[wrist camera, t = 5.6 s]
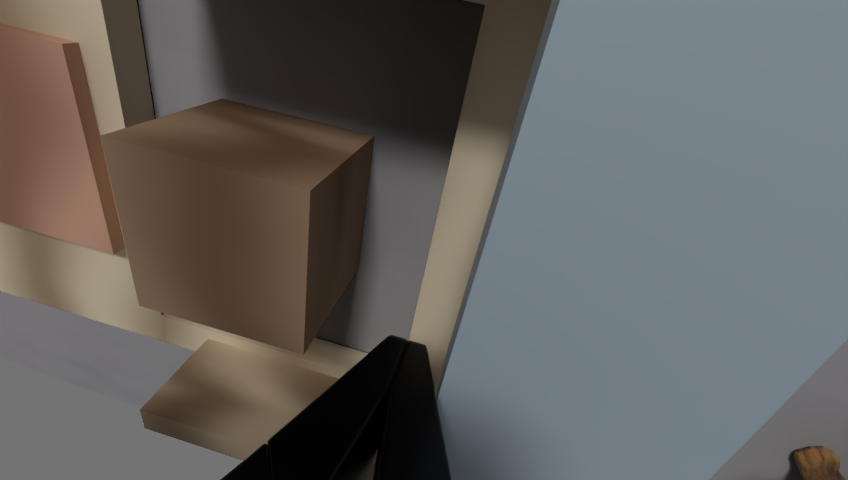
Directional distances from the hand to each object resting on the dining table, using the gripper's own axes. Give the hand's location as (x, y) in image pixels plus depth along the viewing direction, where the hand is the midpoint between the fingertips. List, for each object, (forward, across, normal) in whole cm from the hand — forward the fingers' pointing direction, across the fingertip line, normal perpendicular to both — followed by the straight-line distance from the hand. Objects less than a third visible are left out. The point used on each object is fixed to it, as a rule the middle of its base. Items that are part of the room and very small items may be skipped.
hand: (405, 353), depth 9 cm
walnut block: (+6, +5, 0) cm, 8 cm away
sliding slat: (+1, -3, 0) cm, 3 cm away
